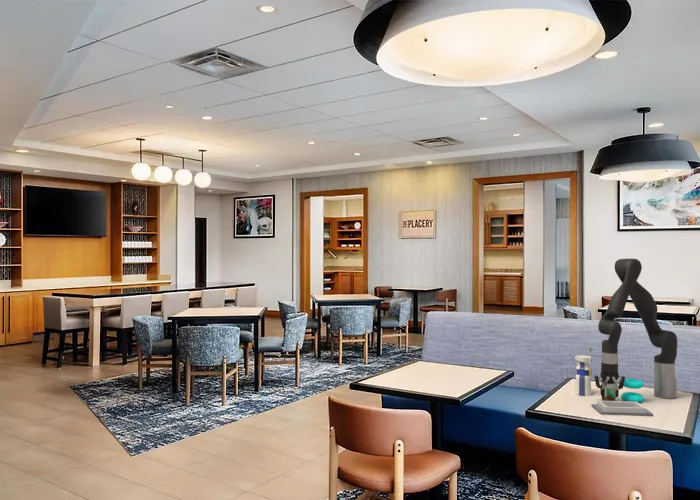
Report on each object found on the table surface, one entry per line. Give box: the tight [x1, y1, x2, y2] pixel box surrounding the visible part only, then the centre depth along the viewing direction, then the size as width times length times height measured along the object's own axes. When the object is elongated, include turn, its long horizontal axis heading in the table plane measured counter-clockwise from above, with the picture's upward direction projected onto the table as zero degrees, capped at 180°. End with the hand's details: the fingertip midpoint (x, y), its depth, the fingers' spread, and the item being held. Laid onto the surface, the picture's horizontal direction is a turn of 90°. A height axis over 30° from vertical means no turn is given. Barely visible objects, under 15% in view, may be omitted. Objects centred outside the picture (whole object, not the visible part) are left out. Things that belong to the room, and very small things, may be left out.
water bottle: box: [574, 346, 593, 397], centre depth 290 cm, size 8×9×25 cm
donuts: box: [620, 378, 645, 404], centre depth 278 cm, size 10×10×10 cm
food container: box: [600, 378, 619, 401], centre depth 274 cm, size 12×6×10 cm, turn 169°
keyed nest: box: [590, 400, 654, 417], centre depth 259 cm, size 22×14×3 cm, turn 83°
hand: (609, 397), depth 274 cm, fingers closed on food container, 5 cm apart
